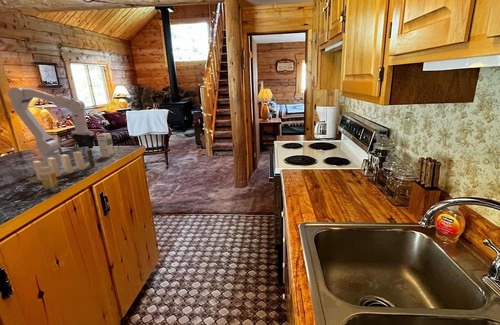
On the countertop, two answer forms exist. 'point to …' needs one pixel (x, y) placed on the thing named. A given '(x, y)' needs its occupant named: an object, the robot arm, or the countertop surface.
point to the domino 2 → (54, 165)
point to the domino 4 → (79, 160)
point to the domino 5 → (90, 157)
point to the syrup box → (105, 144)
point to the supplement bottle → (48, 177)
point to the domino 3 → (66, 163)
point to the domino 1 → (37, 168)
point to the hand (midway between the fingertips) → (85, 147)
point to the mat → (62, 172)
